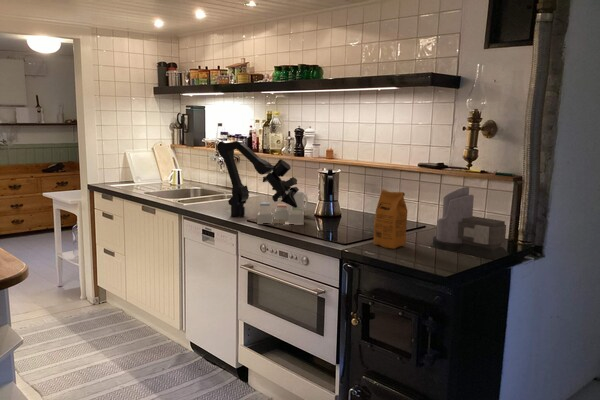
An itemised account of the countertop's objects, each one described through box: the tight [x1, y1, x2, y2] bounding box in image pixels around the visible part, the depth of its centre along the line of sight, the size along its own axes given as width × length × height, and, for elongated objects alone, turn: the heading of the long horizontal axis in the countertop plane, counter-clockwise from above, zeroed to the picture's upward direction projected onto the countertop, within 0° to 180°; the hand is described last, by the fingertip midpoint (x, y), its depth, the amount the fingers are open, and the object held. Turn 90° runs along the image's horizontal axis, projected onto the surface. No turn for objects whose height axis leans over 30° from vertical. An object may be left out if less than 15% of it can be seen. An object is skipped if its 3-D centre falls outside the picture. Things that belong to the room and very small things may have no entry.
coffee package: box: [373, 188, 409, 249], centre depth 204 cm, size 10×12×22 cm
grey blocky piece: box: [428, 186, 510, 261], centre depth 199 cm, size 30×16×24 cm, turn 40°
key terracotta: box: [276, 203, 288, 211], centre depth 258 cm, size 5×5×6 cm
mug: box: [290, 191, 309, 213], centre depth 271 cm, size 10×7×12 cm, turn 127°
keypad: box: [256, 208, 305, 226], centre depth 253 cm, size 22×18×4 cm
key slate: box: [259, 201, 271, 215], centre depth 247 cm, size 5×5×6 cm
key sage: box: [292, 207, 301, 214], centre depth 250 cm, size 5×5×6 cm
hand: (296, 207), depth 249 cm, fingers closed, pressing on key sage
